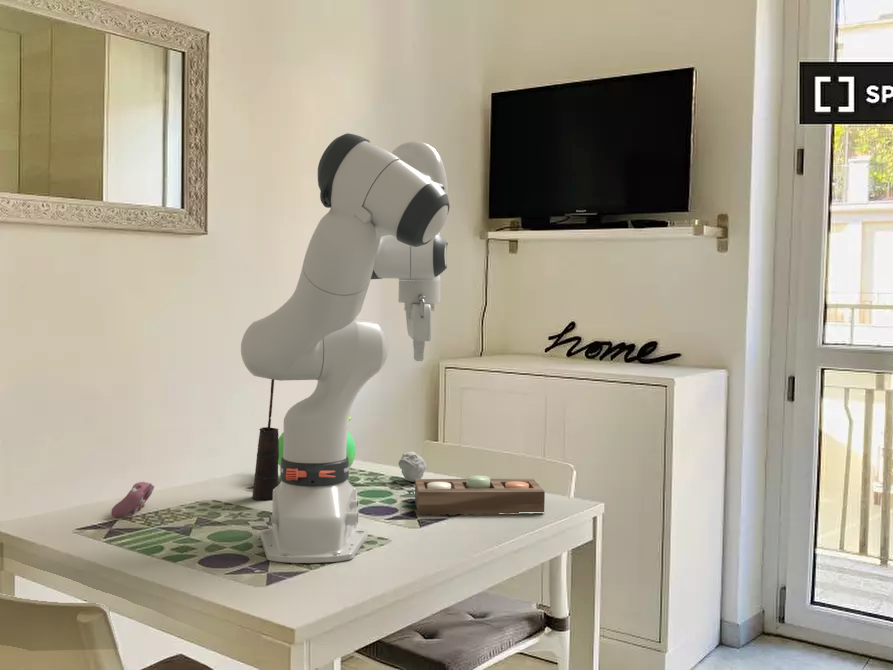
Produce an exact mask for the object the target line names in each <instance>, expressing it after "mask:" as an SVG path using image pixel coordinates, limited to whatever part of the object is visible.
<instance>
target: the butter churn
mask: <svg viewBox="0 0 893 670" xmlns="http://www.w3.org/2000/svg"><path fill="white" fill-rule="evenodd" d="M270 380H271V382H270V399H269V407H268V408H269V410H268V422H267V427H266V426H264V427H261V428H259V429H258V430H259V435H258V441H257V442H258V443H257V453H256V463H255V468H254V469H255V472H254V481H253V487H252V488H253V489H252V499H254V500H257V501H261V500H273V489H275V487H277V486H278V485H279V464H278V459H279V437H280V436H279V428H276V427H271V426H272V425H271V423H272V418H271V417H272V411H273V400H274V399H273V398H274V397H273V396H274V389H275V388H274V387H275V380H273V379H270Z"/></svg>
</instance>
